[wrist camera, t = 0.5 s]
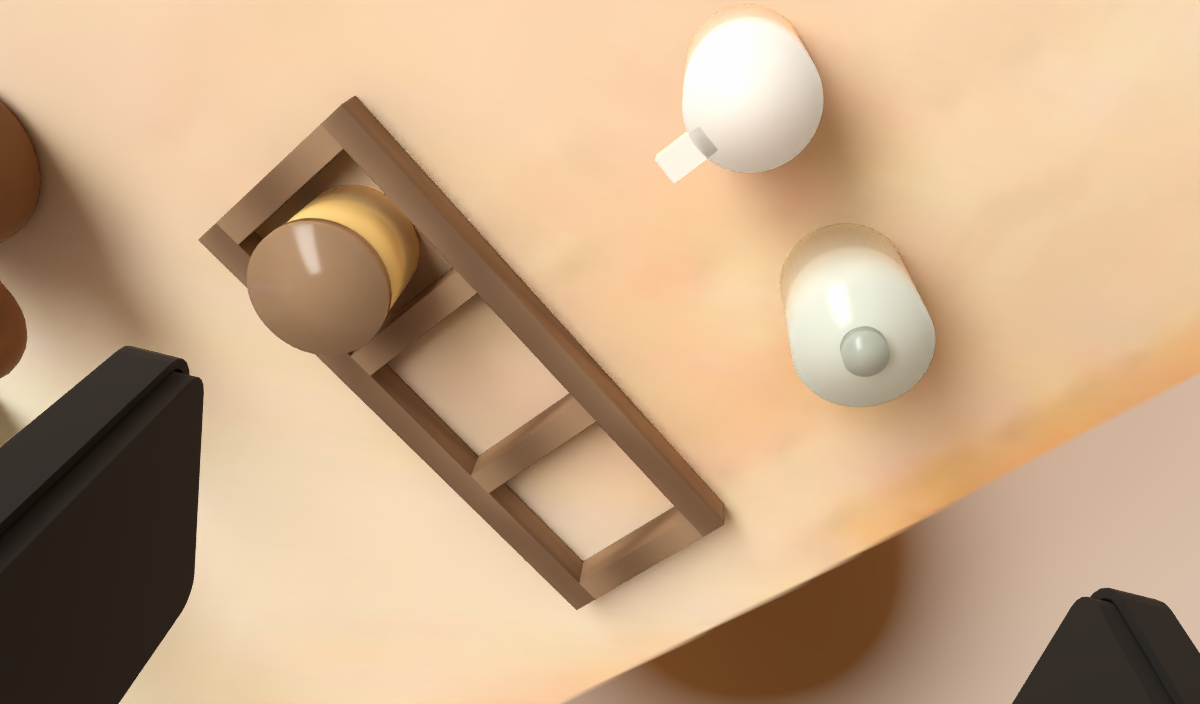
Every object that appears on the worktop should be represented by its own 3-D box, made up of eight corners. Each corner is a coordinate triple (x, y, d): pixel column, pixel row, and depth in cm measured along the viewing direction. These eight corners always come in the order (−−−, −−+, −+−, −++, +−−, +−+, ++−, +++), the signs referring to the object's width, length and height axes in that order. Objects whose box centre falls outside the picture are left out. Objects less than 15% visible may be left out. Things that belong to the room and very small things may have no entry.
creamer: (758, -23, 34) (769, 1, 29) (827, 75, 36) (851, 115, 30) (635, 78, 36) (622, 119, 31) (705, 167, 38) (705, 222, 32)
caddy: (355, 95, 38) (341, 104, 36) (723, 503, 45) (724, 524, 43) (215, 226, 41) (198, 239, 39) (580, 588, 48) (576, 609, 47)
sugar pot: (859, 199, 38) (889, 263, 32) (927, 291, 39) (968, 369, 33) (755, 271, 39) (765, 344, 33) (824, 356, 41) (845, 441, 35)
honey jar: (356, 156, 39) (311, 195, 34) (447, 254, 40) (415, 304, 36) (272, 233, 41) (218, 279, 36) (361, 324, 42) (321, 379, 38)
